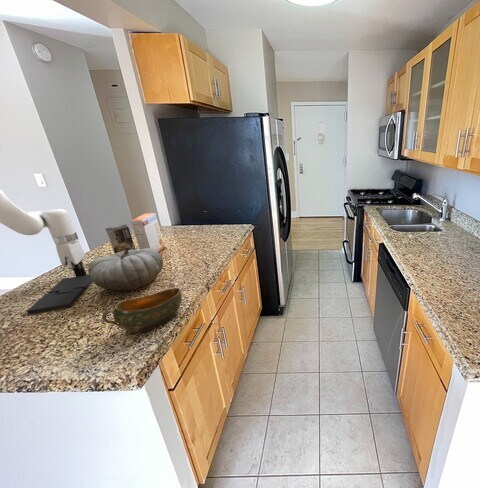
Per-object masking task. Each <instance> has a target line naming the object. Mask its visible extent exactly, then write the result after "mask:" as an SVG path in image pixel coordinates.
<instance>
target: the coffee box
mask: <svg viewBox="0 0 480 488" xmlns="http://www.w3.org/2000/svg"><path fill="white" fill-rule="evenodd" d="M105 231H106V234H107V237H108V239H109V242H110V245H111V247H112V251H113V254H115V253H118V252H121V251H125V250H126V247H129V250H137V248H136V246H135V243H134V239H133V236H132V233H131V231H130V228H129V226H128V225H127V224H121V225H116V226H111V227H106V228H105Z"/></svg>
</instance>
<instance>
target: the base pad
mask: <svg viewBox="0 0 480 488" xmlns="http://www.w3.org/2000/svg"><path fill="white" fill-rule="evenodd" d="M84 292H85V290H84V288H78V289H73V290H72V291H71V292H70V293H64V294H58V293H57V292H53V293H48V292H47V293H45V294H44V295H42V296H41V297H40V298H39V299H38V300H37V301H36V302H35V303H34V304H32V306H30V307H29V308H28V310H26V312H27V314H28V315H32V314H39V313H45V312H49V311H54V310H61V309H66V308H72V306H73V305H74V304H75V303H76V301H78V299H80V297H81V296H82V295H83V294H84Z"/></svg>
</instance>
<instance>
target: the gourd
mask: <svg viewBox="0 0 480 488" xmlns="http://www.w3.org/2000/svg"><path fill="white" fill-rule="evenodd" d="M163 267H164V259H163V256H162V254H161V253H160V252H158V251H156V250H155V249H151V248H145V249H141V250H140V249H136V250H129V247H126V250H125V251H121V252H118V253H115V254H114V253H113V254H112V255H111V254H110V255H103V256H99V257H97V258H94V259H93V260H92V261H91V262H90V263H89V265H88V269H87V270H88V275H89V276H90V279H91V281H92V284H94V285H96V286H98V288H101V289H104V290H112V291H126V290H128V291H133V290H138V289H140V288H142V287H144V286H145V285H146V284H148V283H150V282H152V281H154V280H155V279H156V277H158V275H159V274H160V273H161V272H162V269H163Z"/></svg>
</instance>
